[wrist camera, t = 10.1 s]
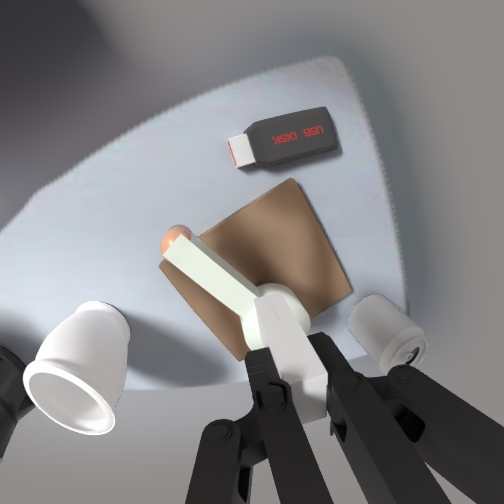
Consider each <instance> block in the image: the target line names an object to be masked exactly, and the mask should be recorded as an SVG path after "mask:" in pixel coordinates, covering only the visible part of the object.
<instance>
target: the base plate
mask: <svg viewBox="0 0 504 504" xmlns="http://www.w3.org/2000/svg"><path fill="white" fill-rule="evenodd" d="M198 238H199V239H200V240H201V241H202V242H204V243H205V244H206V245H207V246H208V247H209V248H211V249H212V250H213V251H214V252H215V253H216V254H218V255H219V256H220V257H221V258H222V259H224V260H225V261H226V262H227V263H228V264H229V265H231V266H232V267H233V268H234V269H235V270H237V271H238V272H239V273H240V274H241V275H243V276H244V277H245V278H246V279H247V280H249V281H250V282H251V283H252V284H254V283H256V282H258V281H267V282H269V283H278V284H282V285H284V286H286V287H288V288H289V289H291V290H292V291H293V292H294V294H295V295H296V297H297V298H298V300H299V301H300V303H301V304H302V306H303V307H304V309H305V310H306V312H307V313H308V315H309V318H310V319H312V318H314V317H315V316H317V315H318V314H320V313H321V312H323V311H324V310H326V309H327V308H329V307H330V306H332V305H333V304H335V303H336V302H338V301H339V300H341V299H342V298H343V297H345V296H346V295H348V294H349V293H351V292H352V290H351V288H350V286H349V284H348V282H347V280H346V277H345V275H344V273H343V271H342V269H341V267H340V265H339V263H338V261H337V259H336V257H335V255H334V253H333V251H332V249H331V247H330V245H329V243H328V241H327V239H326V237H325V235H324V233H323V231H322V229H321V227H320V225H319V223H318V222H317V220H316V218H315V216H314V214H313V212H312V210H311V208H310V207H309V205H308V203H307V201H306V199H305V197H304V196H303V194H302V192H301V190H300V188H299V187H298V185H297V183H296V181H295V180H294V179H293V178H289V179H287V180H286V181H284V182H283V183H281V184H279V185H278V186H276V187H274V188H273V189H271V190H270V191H268V192H266V193H265V194H263V195H262V196H260V197H258V198H257V199H255V200H254V201H252V202H251V203H249V204H247V205H246V206H244V207H243V208H241V209H240V210H238V211H237V212H235V213H233V214H232V215H230V216H229V217H227V218H226V219H224V220H223V221H221V222H220V223H218V224H217V225H215V226H214V227H212V228H211V229H209V230H208V231H206V232H205V233H203V234H202V235H200V236H199V237H198ZM159 268H160V269H161V271H162V272H163V273H164V274H165V276H166V277H167V278H168V279H169V281H170V282H171V283H172V285H173V286H174V287H175V288H176V290H177V291H178V292H179V293H180V294H181V296H182V297H183V298H184V299H185V301H186V302H187V303H188V304H189V305H190V307H191V308H192V309H193V310H194V311H195V313H196V314H197V315H198V316H199V317H200V318H201V320H202V321H203V322H204V323H205V324H206V325H207V327H208V328H209V329H210V330H211V331H212V332H213V333H214V335H215V336H216V337H217V338H218V339H219V340H220V341H221V342H222V344H223V345H224V346H225V347H226V348H227V349H228V350H229V351H230V352H231V353H232V354H233V356H234V357H235V358H236V359H237V360H238V361H239V362H240V361H242V360H244V359H245V357H246V354H247V352H248V351H252V350H251V349H250V348H249V347H248V345H247V343H246V341H245V337H244V333H243V329H242V325H241V321H240V316H239V315H238V314H237V313H235V312H234V311H233V310H231V309H230V308H229V307H227V306H226V305H225V304H223V303H222V302H221V301H219V300H218V299H217V298H215V297H214V296H213V295H211V294H210V293H209V292H208V291H206V290H205V289H204V288H202V287H201V286H200V285H199V284H197V283H196V282H195V281H194V280H192V279H191V278H190V277H189V276H187V275H186V274H185V273H184V272H182V271H181V270H180V269H179V268H177V267H176V266H175V265H174V264H172V263H171V262H169V261H167V260H166V259H165V260H163V261H162V262H161V263H160V265H159Z"/></svg>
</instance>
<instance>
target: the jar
mask: <svg viewBox="0 0 504 504" xmlns="http://www.w3.org/2000/svg"><path fill="white" fill-rule="evenodd" d="M129 341H130V328H129V325H128V323H127V321H126V319H125V318H124V317H123V315H122V314H121V313H120V312H119V311H118V310H116V309H115V308H113V307H112V306H110V305H108V304H106V303H103V302H98V301H90V302H86V303H84V304H82V305H81V306H80V307H79V308H78V309H77V311H76V313H74V314H72V315H71V316H69V317H68V318H67V319H65V320H64V321H63V322H62V323H61V324H59V325H58V326H57V327H56V328H55V329H53V330H52V331H51V333H50V334H49V335H48V336H47V337H46V339H45V340H44V342H43V343H42V345H41V347H40V349H39V351H38V353H37V356H36V359H35V361H33V362H31V363H30V364H29V365H28V366H27V367H26V369H25V371H24V374H23V383H24V387H25V390H26V392H27V394H28V395H29V397H30V399H31V400H32V401H33V403H34V404H35V405H36V406H37V407H38V408H39V409H40V410H41V411H42V412H43V413H44V414H45V415H47V416H48V417H49V418H50V419H52V420H53V421H55V422H56V423H58V424H60V425H62V426H63V427H65V428H68V429H70V430H73V431H75V432H79V433H82V434H89V435H101V434H105V433H107V432H109V431H111V429H112V428H113V427H114V424H115V418H116V413H115V407H116V405H117V403H118V401H119V399H120V397H121V394H122V392H123V389H124V385H125V380H126V373H127V358H128V348H127V345H128V343H129Z"/></svg>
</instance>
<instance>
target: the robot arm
mask: <svg viewBox="0 0 504 504" xmlns="http://www.w3.org/2000/svg"><path fill="white" fill-rule="evenodd" d="M254 303H255V308H256V314H257V319H258V325H259V330H260V335H261V340H262V343H263V346H264V348H261V349H257V350H252V351H248V352H247V354H246V357H245V359H244V360H245V365H246V369H247V373H248V378H249V382H250V386H251V391H252V398H253V401H254V404H253V408H252V409H251V411H250V412H249V413H248V414H247V415H245V416H244V417H242V418H241V419H238V420H236V421H232V420H228V419H219V420H215V421H213V422H211V423H210V424H208V425H207V426H206V427H205V428H204V431H203V432H202V436H201V440H200V444H199V448H198V452H197V456H196V461H195V465H194V469H193V473H192V477H191V481H190V485H189V489H188V493H187V497H186V502H185V504H250V495H251V485H252V474H253V465H255V464H257V463H259V462H261V461H263V460H265V459H267V458H268V460H269V463H270V467H271V471H272V475H273V478H274V482H275V485H276V489H277V492H278V496H279V499H280V503H281V504H334V503H333V501H332V499H331V496H330V493H329V491H328V488H327V486H326V484H325V481H324V479H323V476H322V474H321V472H320V469H319V467H318V464H317V461H316V459H315V456H314V454H313V451H312V449H311V447H310V444H309V442H308V439H307V436H306V434H305V431H304V429H303V426H302V424H305V423H308V422H312V421H315V420H318V419H321V418H324V417H326V416H327V411H328V413H329V415H330V417H331V423H330V435H331V436H332V435H333V432H334V433H335V435H336V437H337V439H338V442H339V443H340V446H341V448H342V450H343V452H344V454H345V456H346V458H347V460H348V462H349V464H350V466H351V469H352V471H353V473H354V475H355V477H356V479H357V481H358V483H359V485H360V487H361V489H362V491H363V493H364V495H365V497H366V500H367V502H368V504H451V502H450V500H449V499H448V497H447V496H446V494H445V493H444V491H443V490H442V488H441V487H440V485H439V484H438V482H437V481H436V479H435V478H434V476H433V475H432V473H431V471H430V470H429V468H428V467H427V465H426V464H425V462H426V463H427V464H428V465H429V466H430V467H432V468H433V469H434V470H435V471H436V472H438V473H439V474H440V475H441V476H442V477H444V478H445V479H446V480H447V481H449V482H450V483H451V484H452V485H454V486H455V487H456V488H457V489H459V490H460V491H461V492H462V493H464V494H465V495H466V496H467V497H469V498H470V499H471V500H473V501H474V502H475V503H476V504H504V427H503V426H501V425H500V424H498V423H497V422H495V421H494V420H492V419H491V418H489V417H488V416H486V415H485V414H483V413H481V412H480V411H479V410H477V409H476V408H474V407H473V406H471V405H470V404H468V403H467V402H465V401H464V400H462V399H461V398H459V397H458V396H456V395H455V394H453V393H452V392H450V391H449V390H447V389H446V388H444V387H443V386H441V385H440V384H439V383H437V382H436V381H434V380H433V379H431V378H429V377H428V376H427V375H425V374H424V373H422V372H420V371H419V370H418V369H416V368H415V367H413V366H411V365H406V364H401V365H396V366H394V367H392V368H391V369H390V370H389V371H388V375H387V376H381V377H370V378H368V377H365V376H364V375H363V374H361V373H359V372H356V371H354V370H353V369H352V368H351V366H350V365H349V363H348V362H347V360H346V359H345V357H344V356H343V354H342V353H341V352H340V351H339V349H338V347H337V346H336V345H335V343H334V342H333V340H332V339H331V337H330V336H328V335H326V334H325V333H323V332H320V333H316V334H313V335H309V336H306V335H305V333H304V331H303V329H302V328H301V326H300V324H299V323H298V321H297V319H296V317H295V316H294V314H293V312H292V310H291V309H290V307H289V305H288V304H287V302H286V300H285V298H284V297H283V295H282V293H281V292H280V293H276V294H272V295H267V296H263V297H258V298H254ZM25 369H26V366H25V365H24V364H23V363H22V362H21V361H20V360H19V359H18V358H17V357H16V356H15V355H13V354H12V353H11V352H10V351H8V350H7V349H5V348H4V347H2V346H0V463H1V462H2V461H3V459H2V458H3V456H4V453H5V450H6V448H7V446H8V443H9V441H10V438H11V436H12V434H13V431H14V429H15V427H16V425H17V423H18V421H19V420H20V419H21V418H23V417H24V416H25V415H26V414H27V413H29V412H30V411H31V410H32V409H34V408H35V406H36V405H35V404H34V403H33V401H32V400H31V399H30V397H29V395H28V394H27V392H26V390H25V387H24V383H23V374H24V371H25Z"/></svg>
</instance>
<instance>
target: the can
mask: <svg viewBox="0 0 504 504" xmlns="http://www.w3.org/2000/svg"><path fill="white" fill-rule="evenodd" d="M348 329H349V332H350V333H351V334H352V335H353V337H354V338H355V339H356V340H357V342H358V343H359V344H360V345H361V347H362V348H363V349H364V350H365V352H366V353H367V354H368V355H369V356H370V358H371V359H372V360H373V361H374V363H375V364H376V365H377V366H378V368H379V369H380V370H381V371H382V372H383V373H384V374H388V371H389V370H390V369H391V368H392V367H394V366H396V365H401V364H406V365H411V366H413V367H415V368H416V367H417V366H418V365H419V364H420V363H421V361H422V360H423V358H424V356H425V354H426V352H427V349H428V341H427V340H426V338H425V332H424V331H423V329H422V328H421V327H420V326H419V325H418V324H416V323H415V322H414V321H413V320H412V319H411V318H409V317H408V316H407V315H406V314H405V313H403V312H402V311H401V310H400V309H399V308H398V307H396V306H395V305H394V304H393V303H391V302H390V301H389V300H388V299H387V298H385V297H384V296H382V295H379V294H373V295H370V296H367V297H365V298H364V299H362V300H361V301H360V302H359V303H357V304H356V305H355V307H354V308H353V310H352V311H351V313H350V316H349V318H348Z"/></svg>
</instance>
